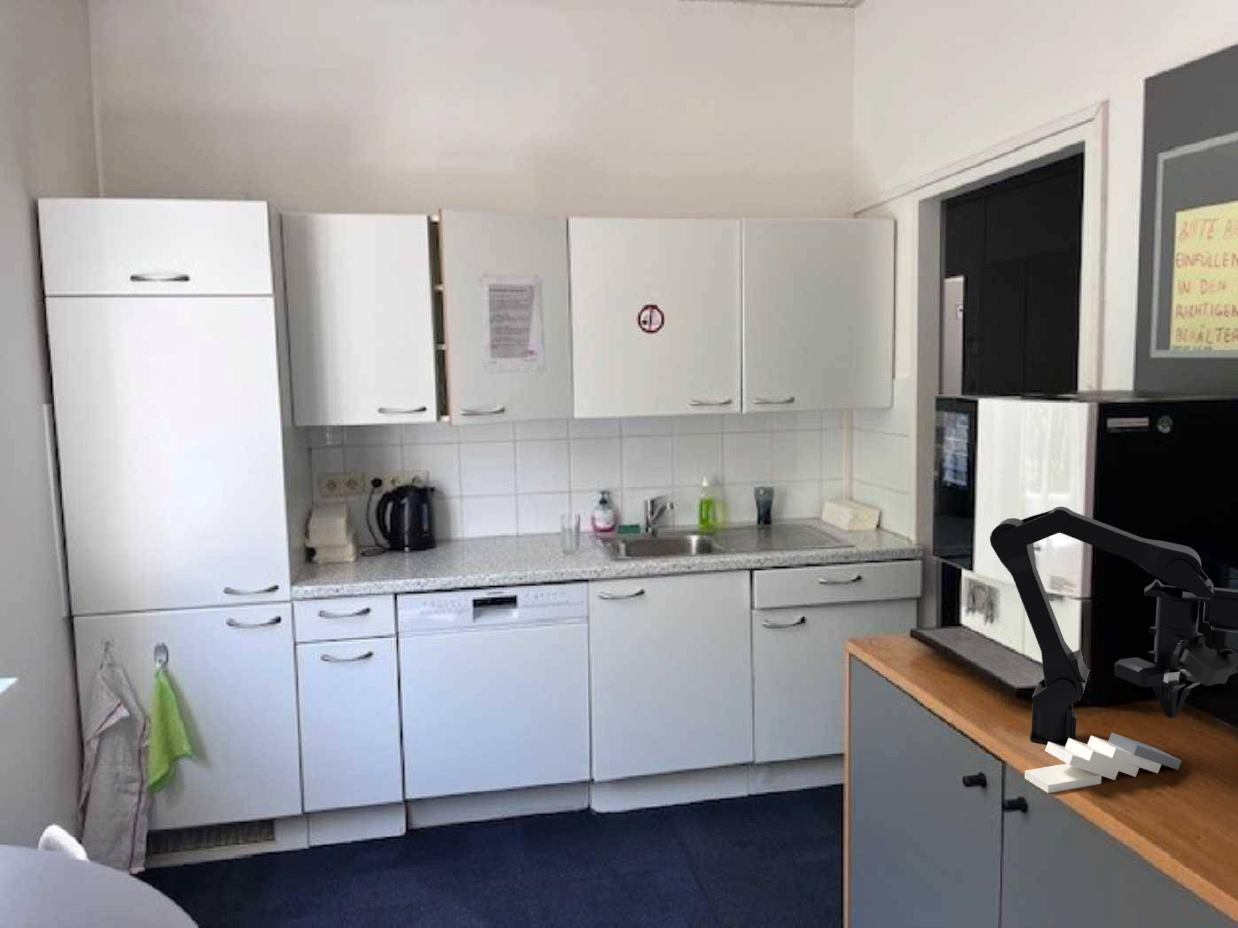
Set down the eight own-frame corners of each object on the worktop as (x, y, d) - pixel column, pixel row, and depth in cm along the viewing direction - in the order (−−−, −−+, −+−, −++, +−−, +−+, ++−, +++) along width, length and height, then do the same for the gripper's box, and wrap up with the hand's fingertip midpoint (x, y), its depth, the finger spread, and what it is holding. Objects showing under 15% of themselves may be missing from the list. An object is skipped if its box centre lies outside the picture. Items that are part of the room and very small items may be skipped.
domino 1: (1101, 785, 137) (1047, 794, 134) (1076, 771, 142) (1024, 780, 139) (1101, 775, 137) (1048, 785, 134) (1076, 761, 142) (1025, 770, 139)
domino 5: (1178, 769, 141) (1133, 754, 138) (1151, 756, 146) (1108, 741, 143) (1181, 760, 141) (1137, 745, 138) (1154, 747, 146) (1111, 732, 143)
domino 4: (1157, 773, 140) (1112, 757, 137) (1131, 759, 145) (1087, 744, 142) (1161, 764, 140) (1115, 748, 137) (1135, 750, 145) (1090, 735, 142)
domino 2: (1114, 780, 138) (1069, 764, 135) (1089, 765, 143) (1044, 750, 139) (1118, 770, 138) (1073, 754, 135) (1092, 756, 143) (1048, 741, 139)
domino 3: (1135, 776, 139) (1089, 760, 136) (1110, 762, 144) (1065, 746, 141) (1139, 767, 139) (1093, 750, 136) (1113, 753, 144) (1068, 737, 141)
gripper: (1175, 646, 131) (1169, 745, 133) (1269, 633, 136) (1262, 729, 138) (1114, 624, 142) (1109, 717, 144) (1204, 614, 147) (1198, 703, 149)
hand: (1170, 717), depth 143 cm, fingers closed
